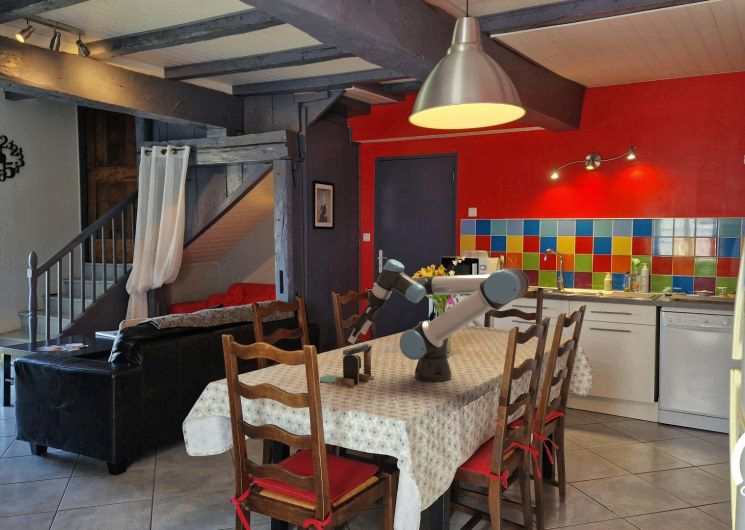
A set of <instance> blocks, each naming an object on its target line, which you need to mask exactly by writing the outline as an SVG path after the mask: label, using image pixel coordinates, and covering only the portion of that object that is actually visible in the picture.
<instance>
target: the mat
mask: <svg viewBox="0 0 745 530" xmlns="http://www.w3.org/2000/svg"><path fill="white" fill-rule="evenodd" d="M336 377H341V378H343V376H338V375H332V374H331V375H330V374H326V375H324V376H320V377H319V378H320V382H319V383H322V384H323V383H325V384H328V383H331V384H330V385H334V383H335V384H336Z"/></svg>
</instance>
